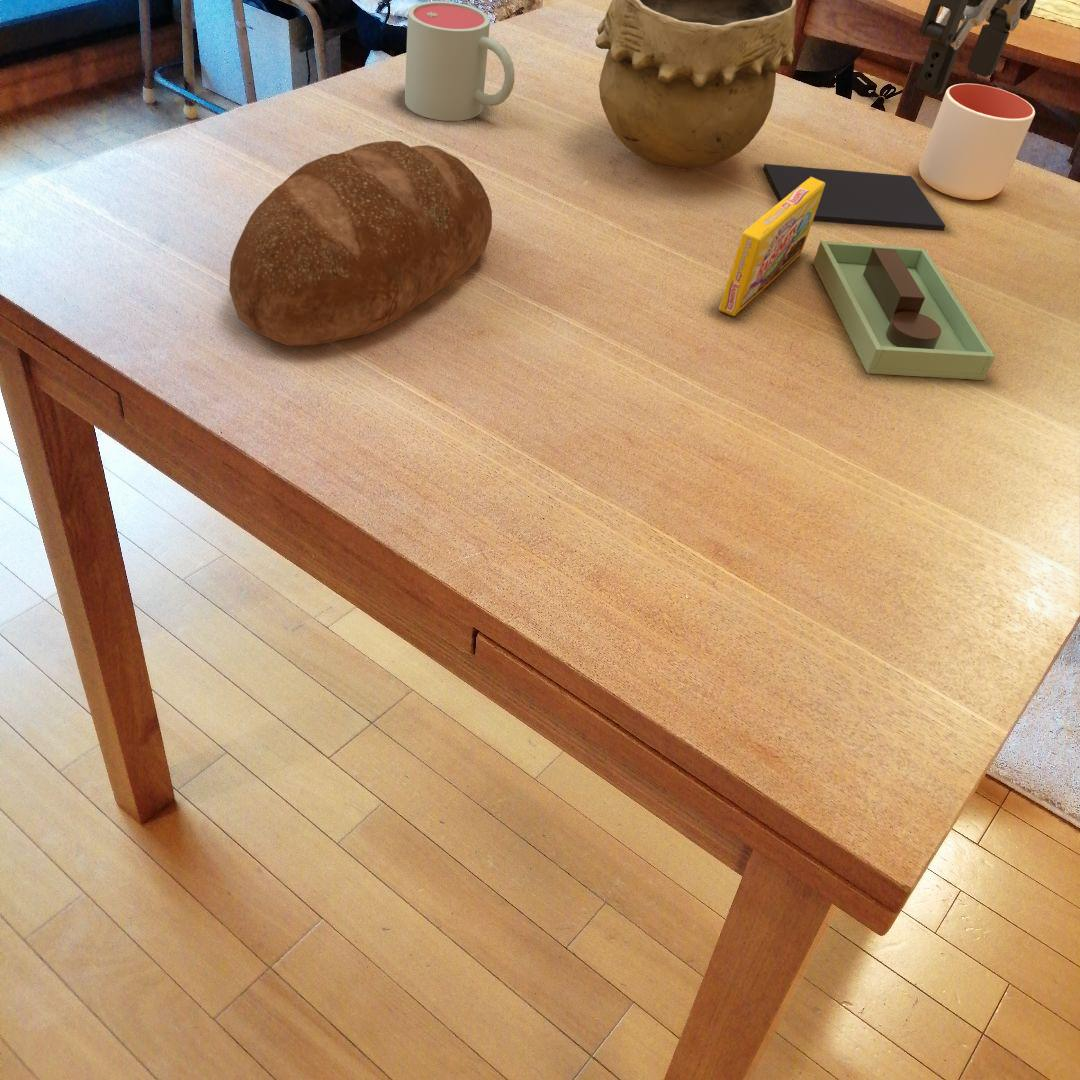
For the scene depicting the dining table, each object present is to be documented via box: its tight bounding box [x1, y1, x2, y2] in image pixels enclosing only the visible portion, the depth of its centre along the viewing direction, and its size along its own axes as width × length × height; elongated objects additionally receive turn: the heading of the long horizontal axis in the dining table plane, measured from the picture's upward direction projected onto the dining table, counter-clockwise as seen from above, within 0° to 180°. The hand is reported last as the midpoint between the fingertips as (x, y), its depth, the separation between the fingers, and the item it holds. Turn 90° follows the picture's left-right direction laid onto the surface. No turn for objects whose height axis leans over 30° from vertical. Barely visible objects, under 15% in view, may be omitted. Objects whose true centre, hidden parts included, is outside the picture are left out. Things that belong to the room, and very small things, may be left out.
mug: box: [404, 0, 515, 122], centre depth 125 cm, size 14×9×10 cm
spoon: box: [863, 248, 941, 349], centre depth 104 cm, size 5×14×3 cm, turn 4°
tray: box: [812, 240, 996, 381], centre depth 104 cm, size 11×19×3 cm, turn 4°
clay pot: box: [595, 0, 797, 170], centre depth 118 cm, size 21×21×20 cm
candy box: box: [718, 177, 825, 317], centre depth 104 cm, size 16×2×8 cm, turn 147°
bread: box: [228, 140, 493, 347], centre depth 95 cm, size 16×29×11 cm, turn 149°
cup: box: [918, 83, 1036, 201], centre depth 126 cm, size 10×10×10 cm
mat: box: [762, 163, 946, 231], centre depth 123 cm, size 18×12×1 cm, turn 94°
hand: (954, 82), depth 92 cm, fingers open, 8 cm apart
